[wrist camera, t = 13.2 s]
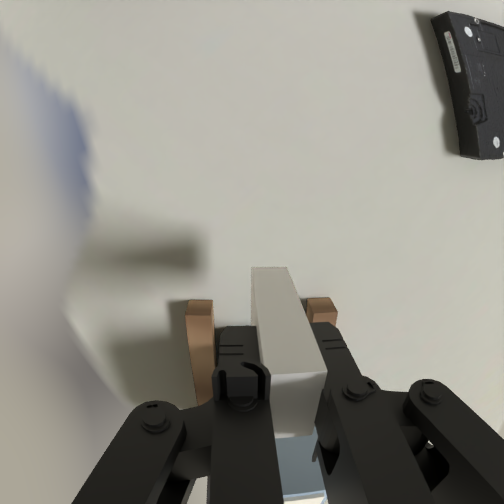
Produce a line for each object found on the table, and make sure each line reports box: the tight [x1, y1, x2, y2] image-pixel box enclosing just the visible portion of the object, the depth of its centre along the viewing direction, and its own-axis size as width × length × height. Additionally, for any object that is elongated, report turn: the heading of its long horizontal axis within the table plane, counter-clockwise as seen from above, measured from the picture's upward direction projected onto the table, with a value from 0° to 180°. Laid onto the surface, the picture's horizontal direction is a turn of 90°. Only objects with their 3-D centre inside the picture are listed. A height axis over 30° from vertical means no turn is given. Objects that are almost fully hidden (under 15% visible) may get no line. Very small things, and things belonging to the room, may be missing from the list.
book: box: [275, 427, 327, 504], centre depth 16 cm, size 9×4×12 cm, turn 179°
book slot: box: [185, 298, 338, 504], centre depth 17 cm, size 14×9×10 cm, turn 179°
